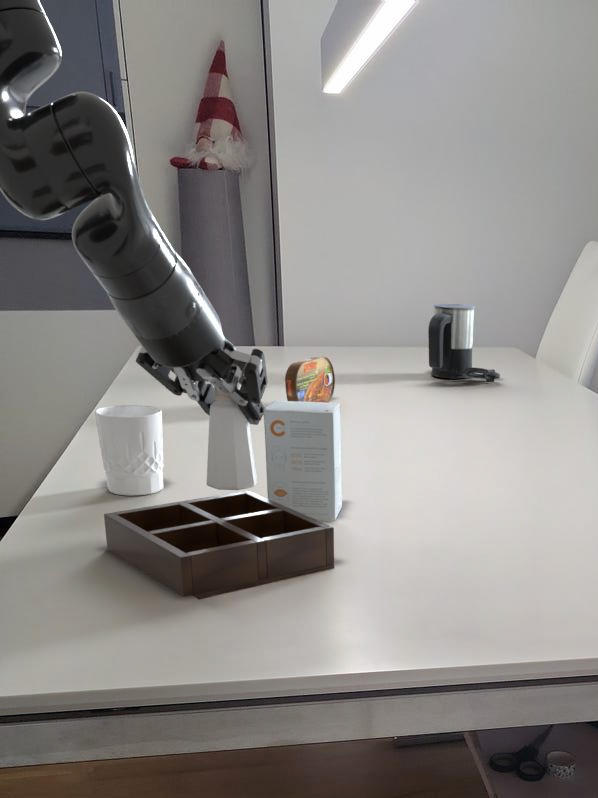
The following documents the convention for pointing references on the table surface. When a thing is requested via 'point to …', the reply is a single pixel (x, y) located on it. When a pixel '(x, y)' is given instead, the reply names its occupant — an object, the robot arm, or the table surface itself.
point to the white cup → (131, 448)
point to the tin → (310, 380)
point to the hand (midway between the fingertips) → (238, 415)
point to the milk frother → (454, 343)
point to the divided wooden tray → (220, 543)
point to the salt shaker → (229, 446)
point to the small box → (304, 457)
